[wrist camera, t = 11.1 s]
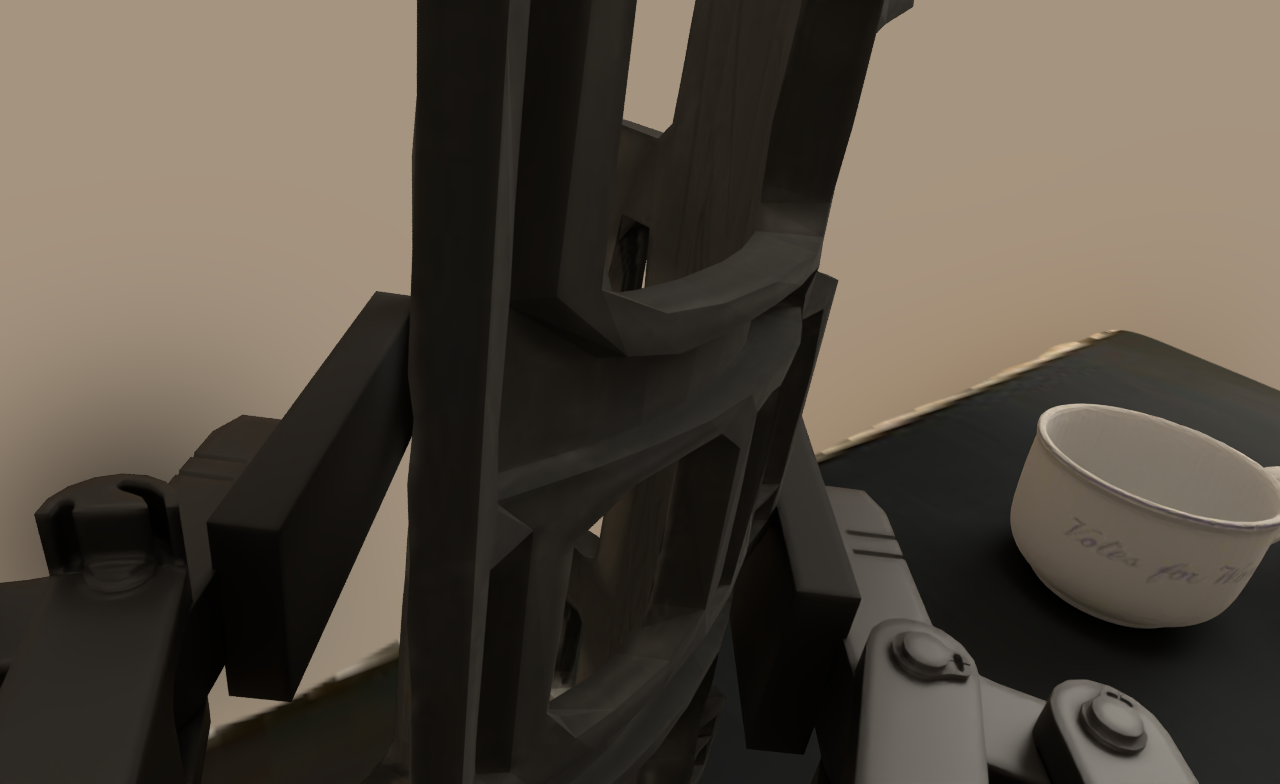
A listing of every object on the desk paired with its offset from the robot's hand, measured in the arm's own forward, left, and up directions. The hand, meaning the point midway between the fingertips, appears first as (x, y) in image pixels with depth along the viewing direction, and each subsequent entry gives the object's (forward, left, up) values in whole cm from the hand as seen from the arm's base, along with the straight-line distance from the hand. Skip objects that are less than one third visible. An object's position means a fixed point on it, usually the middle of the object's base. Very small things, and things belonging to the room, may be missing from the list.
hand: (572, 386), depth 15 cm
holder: (0, +5, -11) cm, 12 cm away
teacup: (-29, -19, -18) cm, 39 cm away
